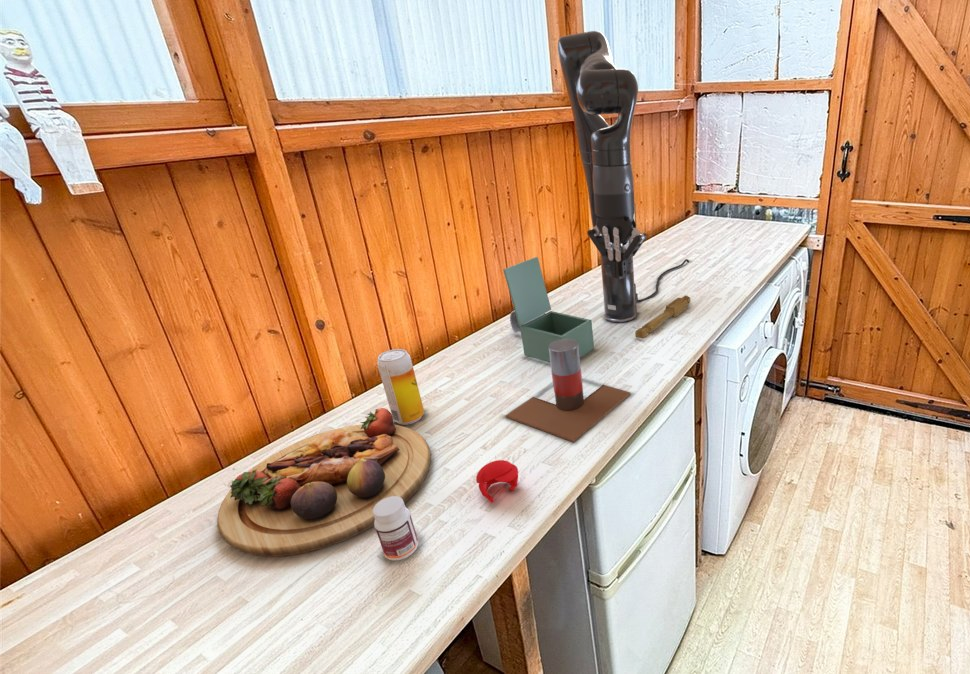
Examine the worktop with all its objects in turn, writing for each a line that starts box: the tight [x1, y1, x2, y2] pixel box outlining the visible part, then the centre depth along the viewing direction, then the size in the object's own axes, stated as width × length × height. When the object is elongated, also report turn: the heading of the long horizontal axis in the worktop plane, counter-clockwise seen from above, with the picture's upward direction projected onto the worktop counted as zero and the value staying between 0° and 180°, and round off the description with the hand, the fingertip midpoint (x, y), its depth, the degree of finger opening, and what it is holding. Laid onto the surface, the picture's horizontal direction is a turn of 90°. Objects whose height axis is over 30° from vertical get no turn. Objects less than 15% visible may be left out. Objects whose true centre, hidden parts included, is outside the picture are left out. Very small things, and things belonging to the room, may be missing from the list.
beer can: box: [376, 348, 425, 426], centre depth 106 cm, size 6×6×15 cm
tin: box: [549, 339, 585, 411], centre depth 108 cm, size 6×6×14 cm
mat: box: [505, 384, 631, 443], centre depth 111 cm, size 20×18×1 cm
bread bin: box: [520, 310, 595, 364], centre depth 132 cm, size 14×12×9 cm
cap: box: [475, 459, 519, 504], centre depth 86 cm, size 8×6×6 cm
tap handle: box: [634, 295, 691, 339], centre depth 151 cm, size 3×3×30 cm
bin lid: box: [502, 256, 552, 325], centre depth 132 cm, size 14×12×4 cm
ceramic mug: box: [509, 310, 546, 334], centre depth 147 cm, size 11×8×8 cm
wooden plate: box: [216, 407, 432, 557], centre depth 89 cm, size 32×32×8 cm
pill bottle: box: [373, 496, 419, 561], centre depth 75 cm, size 5×5×8 cm
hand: (619, 277), depth 104 cm, fingers closed
